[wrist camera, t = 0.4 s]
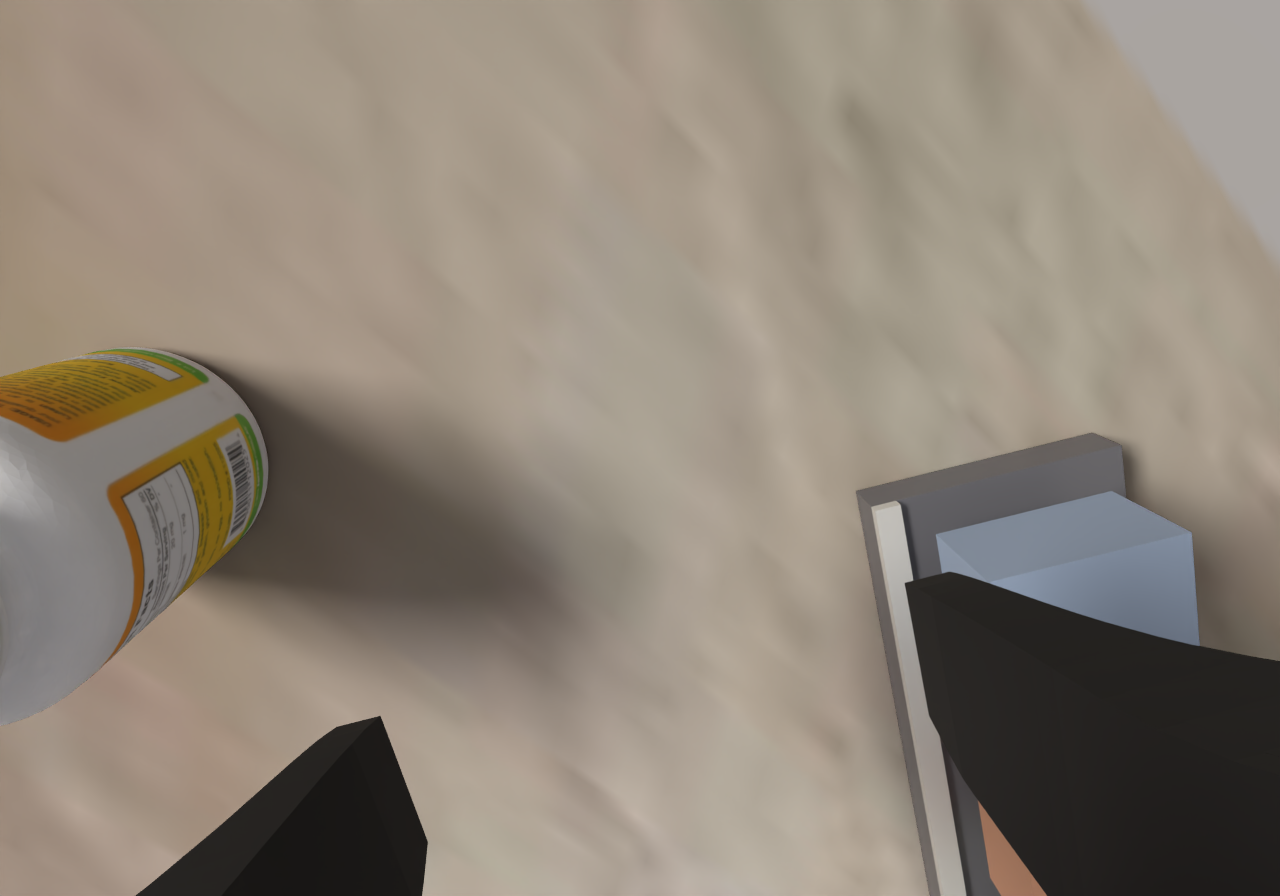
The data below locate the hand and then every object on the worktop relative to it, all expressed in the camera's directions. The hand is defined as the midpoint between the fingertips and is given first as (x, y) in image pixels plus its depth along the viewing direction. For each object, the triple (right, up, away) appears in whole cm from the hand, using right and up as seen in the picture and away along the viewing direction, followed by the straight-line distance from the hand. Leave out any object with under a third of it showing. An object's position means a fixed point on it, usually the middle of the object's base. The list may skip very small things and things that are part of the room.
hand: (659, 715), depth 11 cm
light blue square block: (+9, 0, +8) cm, 12 cm away
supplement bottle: (-12, +3, +9) cm, 15 cm away
